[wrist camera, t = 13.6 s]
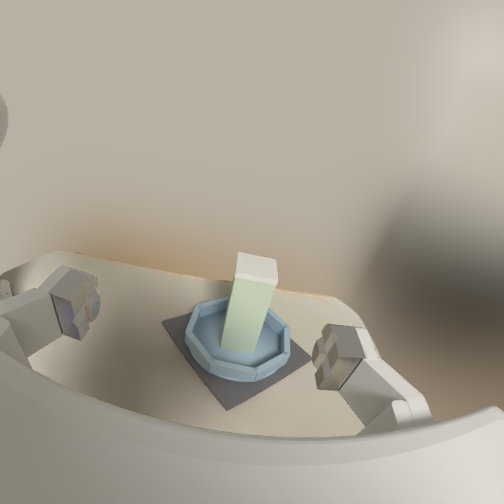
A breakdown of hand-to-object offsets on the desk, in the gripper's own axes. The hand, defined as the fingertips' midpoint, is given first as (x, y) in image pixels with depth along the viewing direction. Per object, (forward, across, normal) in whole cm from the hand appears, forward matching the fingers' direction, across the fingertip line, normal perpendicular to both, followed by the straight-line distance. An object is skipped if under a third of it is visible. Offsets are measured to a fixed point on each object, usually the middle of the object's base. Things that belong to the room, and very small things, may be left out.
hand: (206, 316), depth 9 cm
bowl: (+26, -5, +29) cm, 39 cm away
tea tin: (+26, -5, +28) cm, 39 cm away
